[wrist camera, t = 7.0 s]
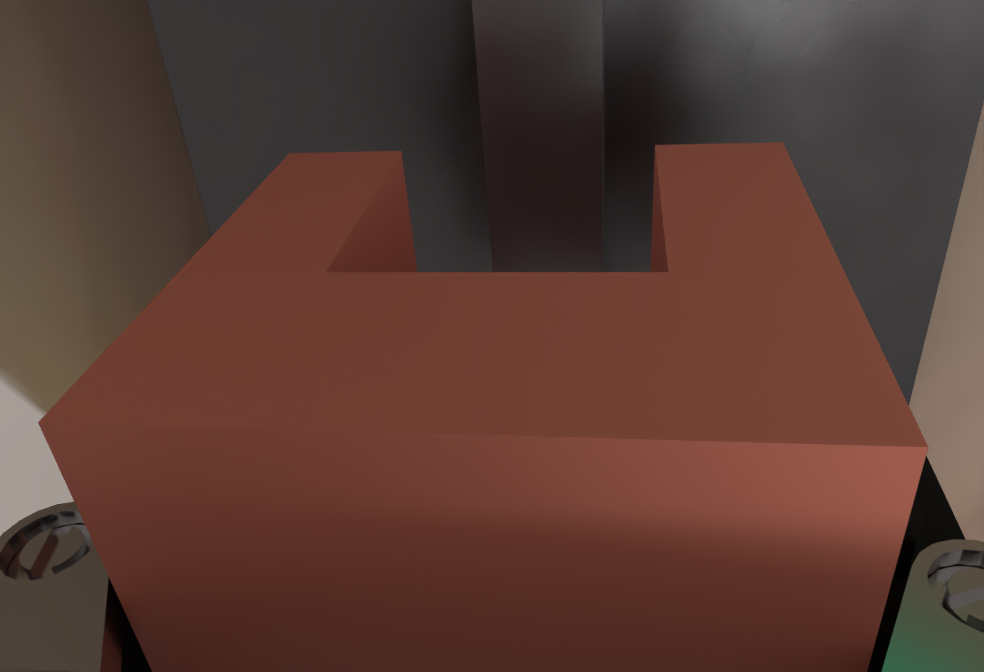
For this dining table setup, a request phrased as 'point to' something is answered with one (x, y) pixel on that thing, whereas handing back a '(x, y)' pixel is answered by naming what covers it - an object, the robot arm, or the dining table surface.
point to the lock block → (499, 442)
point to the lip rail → (599, 120)
